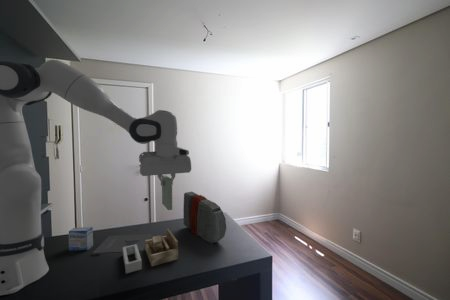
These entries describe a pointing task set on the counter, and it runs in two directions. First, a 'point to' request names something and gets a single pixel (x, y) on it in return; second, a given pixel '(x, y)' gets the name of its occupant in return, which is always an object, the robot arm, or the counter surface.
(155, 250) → the offcut walnut
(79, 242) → the medicine box
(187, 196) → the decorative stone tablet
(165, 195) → the block
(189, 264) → the counter surface
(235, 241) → the counter surface
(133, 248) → the holder
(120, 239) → the play button award
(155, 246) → the offcut pine
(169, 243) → the rack
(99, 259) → the counter surface
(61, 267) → the counter surface
